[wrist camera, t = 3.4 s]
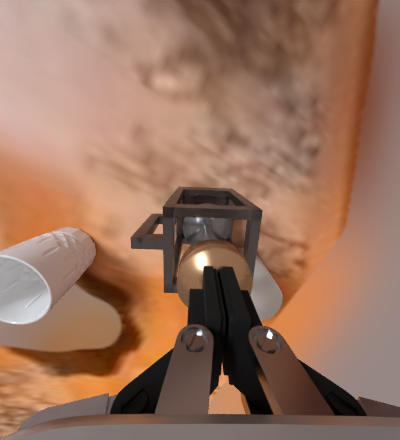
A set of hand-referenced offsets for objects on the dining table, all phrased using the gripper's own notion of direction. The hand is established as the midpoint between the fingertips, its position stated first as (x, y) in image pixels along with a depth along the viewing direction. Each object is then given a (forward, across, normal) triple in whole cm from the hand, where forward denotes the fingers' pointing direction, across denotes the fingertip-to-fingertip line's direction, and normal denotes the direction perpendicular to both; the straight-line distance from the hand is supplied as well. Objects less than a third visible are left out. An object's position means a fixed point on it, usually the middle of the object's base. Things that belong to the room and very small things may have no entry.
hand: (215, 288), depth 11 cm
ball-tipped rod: (+11, 0, 0) cm, 11 cm away
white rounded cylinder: (+17, -6, +8) cm, 19 cm away
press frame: (+17, +2, 0) cm, 17 cm away
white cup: (+17, +19, +6) cm, 26 cm away
